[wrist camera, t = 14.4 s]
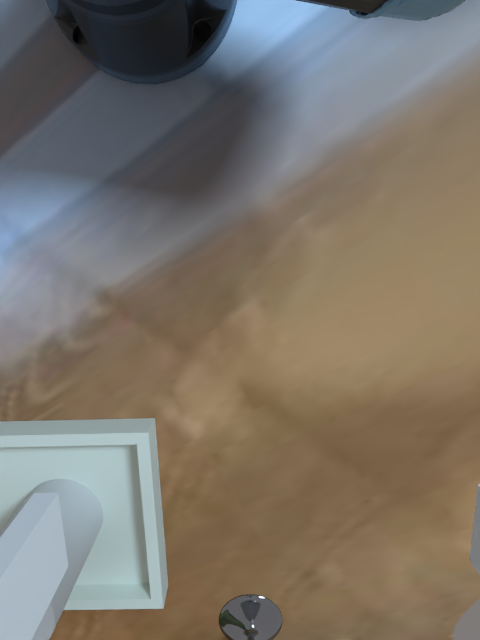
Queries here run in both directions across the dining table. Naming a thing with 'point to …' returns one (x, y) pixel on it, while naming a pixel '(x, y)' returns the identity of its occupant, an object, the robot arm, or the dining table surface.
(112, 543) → the tray
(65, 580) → the white round cylinder
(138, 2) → the robot arm
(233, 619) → the wine glass
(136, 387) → the dining table surface
